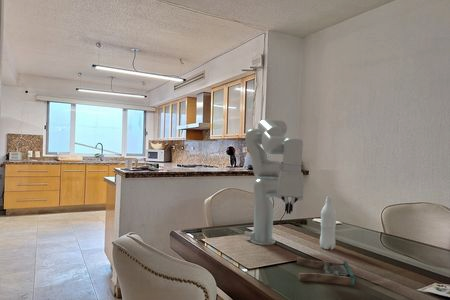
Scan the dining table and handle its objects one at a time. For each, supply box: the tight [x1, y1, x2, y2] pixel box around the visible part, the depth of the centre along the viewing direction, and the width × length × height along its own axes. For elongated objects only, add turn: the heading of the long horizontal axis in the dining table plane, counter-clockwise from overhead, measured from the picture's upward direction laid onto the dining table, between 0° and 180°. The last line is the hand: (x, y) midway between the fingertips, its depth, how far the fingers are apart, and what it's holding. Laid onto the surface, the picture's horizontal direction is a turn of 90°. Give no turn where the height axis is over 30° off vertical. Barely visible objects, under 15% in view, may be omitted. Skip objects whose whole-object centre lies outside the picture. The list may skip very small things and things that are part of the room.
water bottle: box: [319, 195, 338, 251], centre depth 146 cm, size 7×7×25 cm
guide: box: [296, 256, 356, 287], centre depth 113 cm, size 19×17×4 cm
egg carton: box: [323, 260, 349, 277], centre depth 112 cm, size 11×8×4 cm
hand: (288, 212), depth 124 cm, fingers closed
